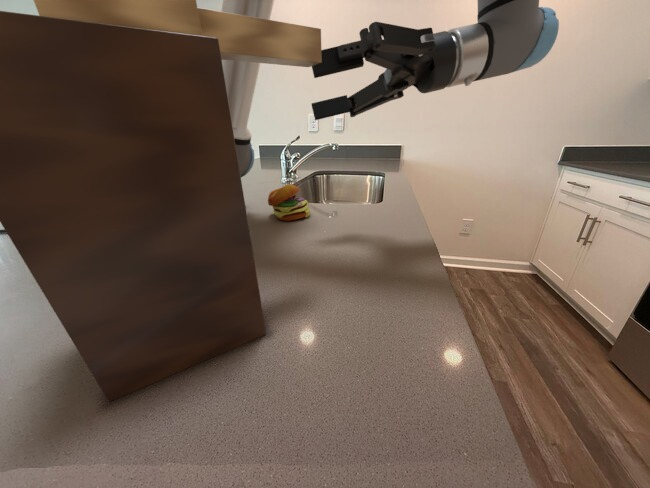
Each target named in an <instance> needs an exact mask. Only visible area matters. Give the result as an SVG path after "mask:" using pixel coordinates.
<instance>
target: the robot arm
mask: <svg viewBox="0 0 650 488" xmlns="http://www.w3.org/2000/svg"><path fill="white" fill-rule="evenodd" d="M274 2H275V0H222V4H221V12H226V13H232V14H238V15H244V16H250V17H255V18H261V19H267V20H271V16H272V13H273V8H274ZM476 17H477V18H476V19H477V22H476V23H473V24H468V25H464V26H458V27H454V28H450V29H448V30H443V31H438V32H435V33H434V31H433V28H432V27H426V28H412V27H407V26H401V25H397V24H390V23H385V22H380V21H373V22H371V23H370V24H369V26H368V27H364V28H362V29H361V30H360V31H359V33H358V34H359V38H360V40H356V41H353V42H349V43H348V42H347V43H344V44H340V45H337V46H333V47H328V48H323V49H321V54H322V63H319V64H316V65H314V66H311V70H312V74H313V77H314V79H317V78H322V77H325V76H329V75H334V74H338V73H343V72H346V71H351V70H355V69H360V68H363V67H364V65H365V61H366V62H368V63H370V64H373V65H375V66H379V67H381V68H384V69H385V70H384V72H382V73H381V74H379V76H378V78H377V79H376V80H375V81H373V82H372V83H370V84H368V85H366V86H365V87H363V88H362V89H360V90H358V91H356V92H355V93H353V94H352V95H350V96H348V95H347V94H345V95H341V96H336V97H332V98H328V99H324V100H320V101H315V102H312V103H311V108H312V114H313V117H314V121H319V120H323V119H326V118H331V117H334V116H340V115H343V114H347V113H349V117H350V118H354V117H355V118H356V116H358V115H360V114H363V113H365V112H368V111H370V110H372V109H374V108H377V107H379V106H382V105H384V104H387V103H388V102H391V101H395V100H398V99H402V98H403V97H404V96H405V95H404V91H405V90H407V89H408V88H411V87H414V88H415V89H416V90H417V91H418V92H419V93H421V94H429V93H432V92H437V91H441V90H445V88H452V87H456V86H460V85H464V86H465V87H468V86H470V85H471V84H472V83H473V82H477V81H482V80H487V79H492V78H496V77H500V76H505V75H509V74H512V73H515V72H519V71H523V70H525V69H528V68H529V69H530V68H531V67H534V66H535V65H538V64H539V63H540V62H542V61H543V59H545V57H546V56H547V55H548V54H549V53H550V52H551V50H552V48H553V46H554V45H555V43H556V40H557V36H558V33H559V28H560V22H559V19H558V17H557V13H556V11H555V10H554V9H553V8H551V7H548V6H547V7H545V6H540V0H477V16H476ZM222 66H223V72H224V78H225V84H226V90H227V96H228V102H229V109H230V115H231V121H232V127H233V133H234V139H235V145H236V152H237V158H238V164H239V170H240V176H241V178H243V177H245V176H246V175H247V174H249V172H250V171H251V170H252V168H253V166H254V162H255V150H254V149H253V147H252V146H253V145H252V142H251V141H252V134H251V132H250V130H249V128H248V122H249V120H250V119H249V118H250V113H251V109H252V105H253V99H254V95H255V90H256V85H257V80H258V76H259V72H260V67H261V63H255V62H243V61H232V60H222ZM0 234H7V232H6V231H5V229H0Z"/></svg>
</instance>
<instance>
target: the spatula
mask: <svg viewBox="0 0 650 488" xmlns="http://www.w3.org/2000/svg"><path fill="white" fill-rule="evenodd" d="M33 2H34V5H35V7H36V10H37V13H38V16H46V17H54V18H62V19H70V20H78V21H86V22H94V23H102V24H110V25H118V26H126V27H134V28H142V29H150V30H158V31H166V32H174V33H181V34H189V35H197V36H205V37H213V38H218V41H219V47H220V53H221V59H222V60H232V61H243V62H255V63H260V64H265V65H267V64H268V65H279V66H289V67H302V68H310V67H311V68H312V66H314V65H316V64H319V63H322V54H321V50H322V29H321V28H318V27H314V26H307V25H300V24H297V23H296V24H294V23H289V22H284V21H278V20H272V19H270V20H267V19H261V18H255V17H250V16H244V15H238V14H232V13H226V12H221V11H222V10H221V11H220V10H216V9H215V10H214V9H209V8H203V7H198V3H197V0H33Z"/></svg>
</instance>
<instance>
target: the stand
mask: <svg viewBox="0 0 650 488" xmlns="http://www.w3.org/2000/svg"><path fill="white" fill-rule="evenodd" d="M0 224H1V226H2V228H3V230H5V231H6V232H7V233H6V234H7V236H8V238H9V239H10V241H11V243H12V244H13V246H14V247H15V249H16V250H17V253H18V254H19V255H20V257H21V259H22V260H23V262H24V264H25V265H26V268H27V269H28V270H29V272H30V273H31V276H32V277H33V279H34V280H35V282H36V284H37V285H38V287H39V289H40V291H41V292H42V293H43V296H44V297H45V298H46V301H47V302H48V303H49V305H50V307H51V308H52V310H53V312H54V313H55V316H56V317H57V318H58V320H59V322H60V323H61V325H62V327H63V329H64V331H65V332H66V333H67V335H68V337H69V338H70V340H71V342H72V343H73V345H74V347H75V348H76V350H77V351H78V353H79V354H80V356H81V358H82V360H83V361H84V364H86V366H87V368H88V369H89V371H90V373H91V374H92V376H93V378H94V380H95V381H96V383H97V385H98V386H99V388H100V389H101V391H102V393H103V394H104V396H105V397H106V400H107V401H108V402H113V401H114V400H117V399H120V398H122V397H124V396H127V395H129V394H131V393H134V392H135V391H138V390H140V389H143V388H145V387H147V386H149V385H152V384H154V383H156V382H159V381H162V380H163V379H166V378H168V377H170V376H173V375H175V374H177V373H179V372H182V371H184V370H186V369H189V368H191V367H194V366H196V365H198V364H201V363H203V362H205V361H207V360H210V359H212V358H214V357H217V356H219V355H221V354H225V353H226V352H228V351H230V350H233V349H236V348H238V347H240V346H242V345H245V344H247V343H249V342H251V341H254V340H257V339H258V338H260V337H263V336H265V335H267V331H266V323H265V318H264V317H265V316H264V313H263V306H262V305H263V304H262V300H261V293H260V288H259V282H258V281H259V280H258V275H257V268H256V262H255V257H254V251H253V250H254V249H253V243H252V237H251V233H250V227H249V220H248V213H247V208H246V202H245V195H244V188H243V183H242V177H241V176H240V170H239V164H238V158H237V152H236V145H235V139H234V133H233V127H232V121H231V115H230V109H229V102H228V96H227V90H226V84H225V78H224V72H223V66H222V59H221V53H220V47H219V41H218V38H213V37H205V36H197V35H189V34H181V33H174V32H166V31H158V30H150V29H142V28H134V27H126V26H118V25H110V24H102V23H94V22H86V21H78V20H70V19H62V18H54V17H46V16H39V14H38V15H36V14H29V13H23V12H21V13H20V12H13V11H6V10H0Z"/></svg>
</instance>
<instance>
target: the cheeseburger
mask: <svg viewBox="0 0 650 488" xmlns="http://www.w3.org/2000/svg"><path fill="white" fill-rule="evenodd" d="M299 191H300V188H298V186H296V185H294V184H291V183H287V184H285V185H283V186H281V187H279V188H276V189H274V190H271V191H270V192H269V194H268V196H267V204H268V206H271V207H272V209H273V214H274V215H275V216H276V218H277V219H278V220H280V221H282V222H283V221H284V222H286V221H287V222H289V221H294V220H299V219H303V218H309V216H310V214H311V209H310V208H309V205H308V204H309V202H308V200H306V198H305V197H297V196H298V194H297V193H298V192H299Z"/></svg>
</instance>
